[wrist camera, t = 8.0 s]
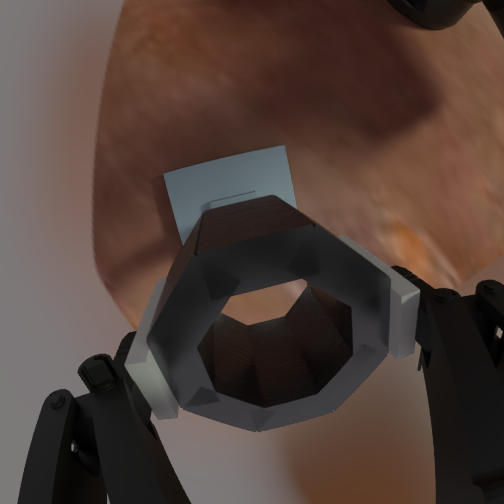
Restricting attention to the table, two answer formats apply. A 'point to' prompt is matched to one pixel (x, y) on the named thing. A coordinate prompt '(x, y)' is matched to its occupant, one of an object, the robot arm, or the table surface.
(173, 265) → the hub
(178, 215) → the shaft block
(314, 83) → the table surface
